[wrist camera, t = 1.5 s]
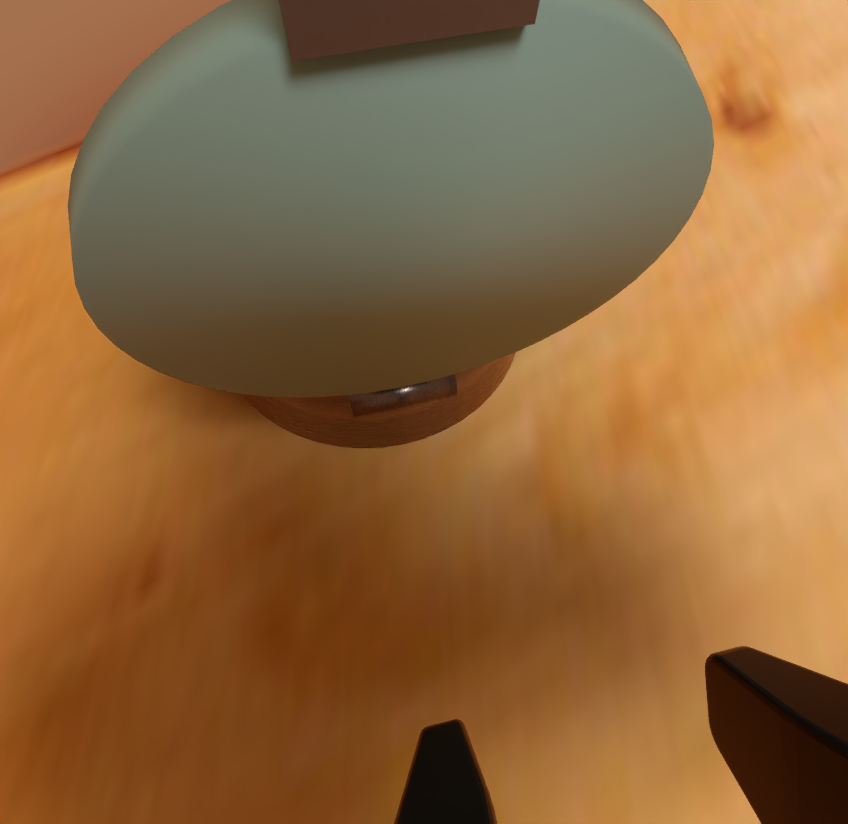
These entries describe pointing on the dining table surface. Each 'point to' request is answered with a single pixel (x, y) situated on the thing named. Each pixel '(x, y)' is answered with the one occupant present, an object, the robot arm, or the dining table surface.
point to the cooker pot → (386, 409)
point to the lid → (381, 186)
